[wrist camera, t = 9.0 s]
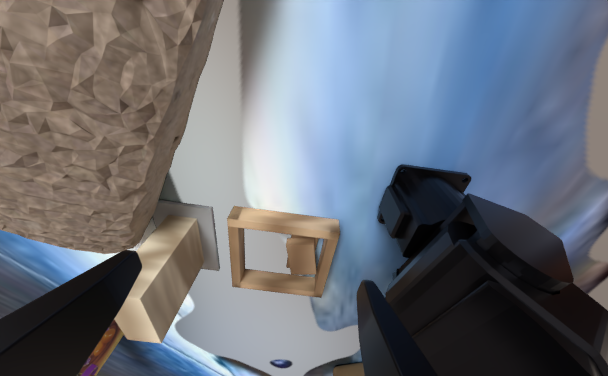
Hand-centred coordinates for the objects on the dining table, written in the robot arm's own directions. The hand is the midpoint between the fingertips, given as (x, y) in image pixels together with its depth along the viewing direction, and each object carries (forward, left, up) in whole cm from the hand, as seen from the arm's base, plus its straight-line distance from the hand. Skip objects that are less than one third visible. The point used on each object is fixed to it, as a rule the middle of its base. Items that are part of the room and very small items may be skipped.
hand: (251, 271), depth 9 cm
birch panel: (+10, +13, -12) cm, 20 cm away
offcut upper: (-3, +13, -12) cm, 18 cm away
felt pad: (+10, +13, -12) cm, 21 cm away
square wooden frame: (-1, +13, -12) cm, 18 cm away
